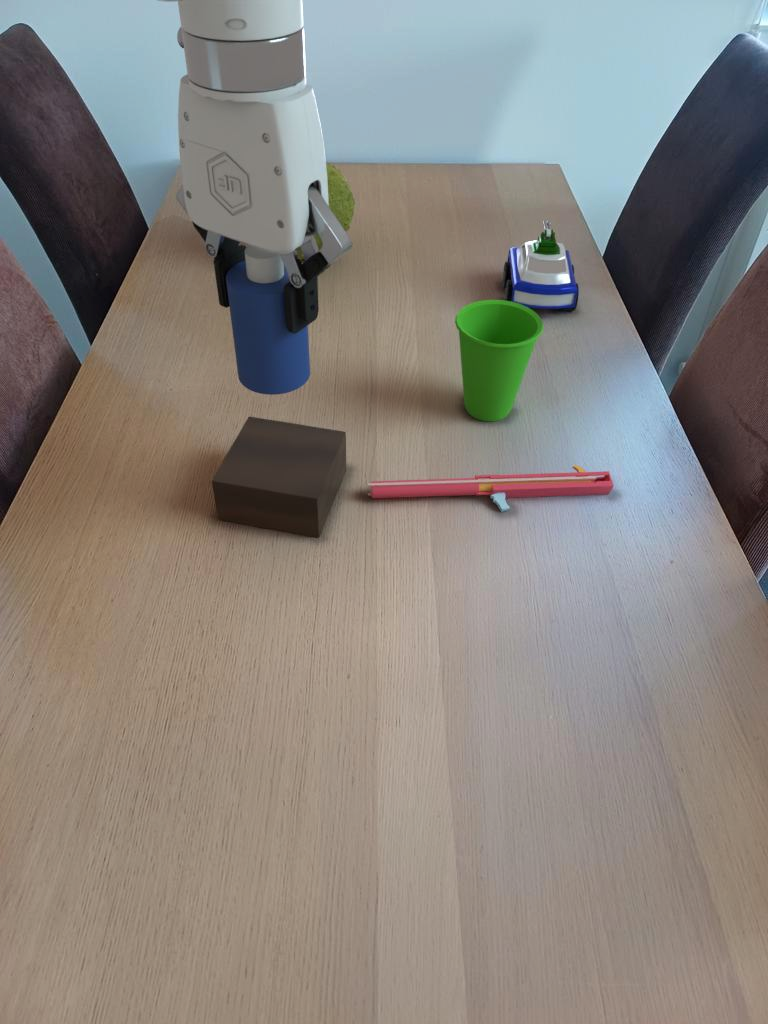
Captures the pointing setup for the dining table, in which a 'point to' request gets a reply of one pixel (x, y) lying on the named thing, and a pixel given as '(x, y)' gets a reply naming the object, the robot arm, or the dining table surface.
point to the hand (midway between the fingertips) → (268, 310)
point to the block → (281, 476)
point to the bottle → (265, 326)
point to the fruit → (337, 201)
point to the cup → (495, 354)
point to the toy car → (541, 274)
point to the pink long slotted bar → (499, 486)
